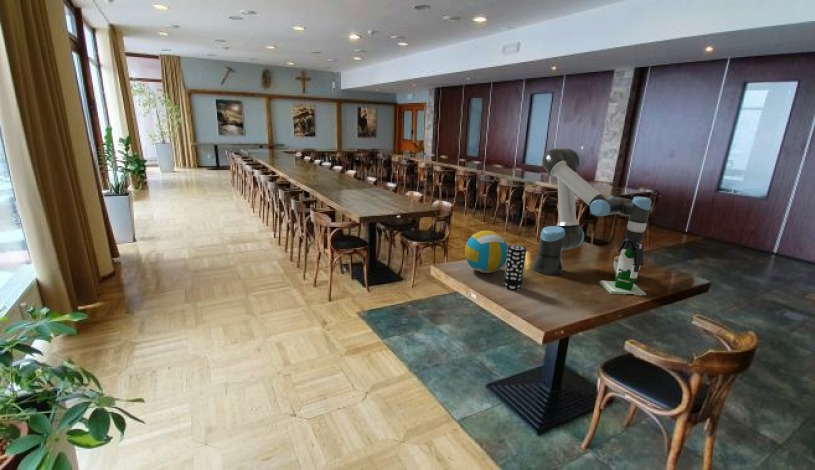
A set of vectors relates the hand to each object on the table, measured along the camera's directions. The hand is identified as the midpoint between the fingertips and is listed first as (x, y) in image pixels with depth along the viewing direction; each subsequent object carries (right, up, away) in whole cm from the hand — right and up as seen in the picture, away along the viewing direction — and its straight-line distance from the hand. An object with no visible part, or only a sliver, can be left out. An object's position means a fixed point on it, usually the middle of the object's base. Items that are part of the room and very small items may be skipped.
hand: (626, 272), depth 193 cm
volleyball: (-65, -1, +18) cm, 68 cm away
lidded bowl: (+10, -4, +20) cm, 23 cm away
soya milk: (0, -7, +2) cm, 8 cm away
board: (-1, -8, +2) cm, 9 cm away
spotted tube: (-55, -7, -1) cm, 56 cm away
